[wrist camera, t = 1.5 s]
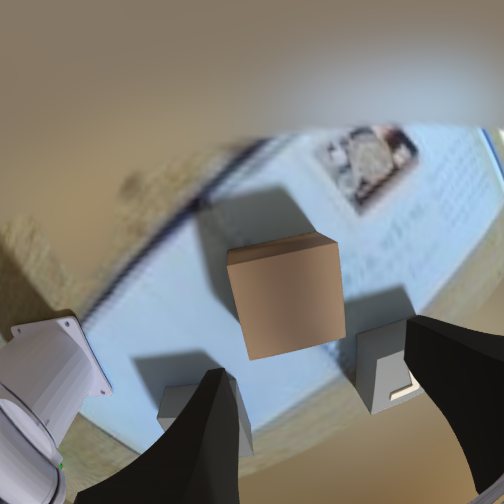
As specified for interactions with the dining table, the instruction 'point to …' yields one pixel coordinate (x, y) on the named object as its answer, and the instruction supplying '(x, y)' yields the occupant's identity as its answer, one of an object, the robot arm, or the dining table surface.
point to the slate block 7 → (384, 368)
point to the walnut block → (288, 293)
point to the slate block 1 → (180, 396)
